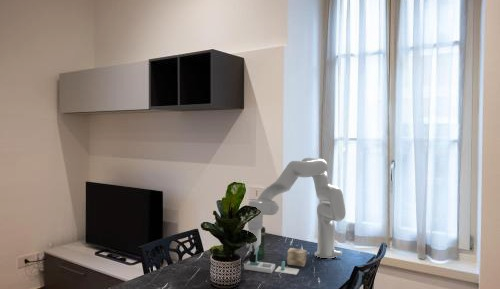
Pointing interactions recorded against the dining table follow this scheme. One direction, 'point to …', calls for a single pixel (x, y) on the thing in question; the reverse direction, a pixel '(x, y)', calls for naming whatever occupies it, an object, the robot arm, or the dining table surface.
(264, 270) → the socket board
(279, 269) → the card
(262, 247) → the coffee jar
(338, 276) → the dining table surface
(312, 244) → the dining table surface
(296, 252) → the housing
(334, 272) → the dining table surface
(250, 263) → the pin
